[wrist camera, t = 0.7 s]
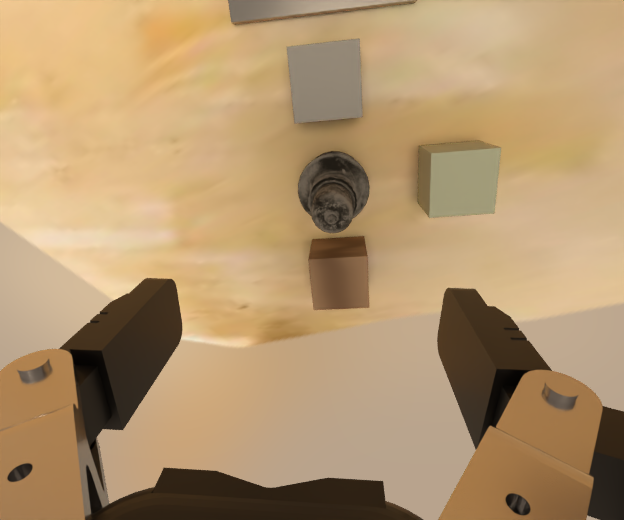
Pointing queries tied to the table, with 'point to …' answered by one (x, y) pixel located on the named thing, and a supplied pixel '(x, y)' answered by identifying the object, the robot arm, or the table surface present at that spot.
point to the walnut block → (339, 273)
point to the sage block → (458, 178)
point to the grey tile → (298, 8)
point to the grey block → (325, 81)
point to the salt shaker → (333, 190)
